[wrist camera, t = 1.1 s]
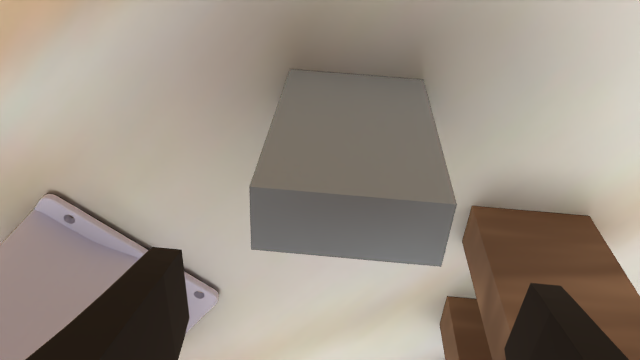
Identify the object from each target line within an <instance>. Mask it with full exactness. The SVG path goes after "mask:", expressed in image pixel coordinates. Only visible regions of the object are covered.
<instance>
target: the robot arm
mask: <svg viewBox="0 0 640 360" xmlns="http://www.w3.org/2000/svg"><path fill="white" fill-rule="evenodd" d="M69 215H71V216H73V217H74V218H71V217H70V216H69ZM198 291H200V292H202V293H200V292H198ZM218 299H219V294H218V292H217V291H216V290H215V289H213V288H211V287H210V286H208V285H206V284H205V283H203V282H201V281H199V280H198V279H196V278H194V277H193V276H191V275H189V274H188V273H186V272H184V267H183V258H182V250H178V249H168V248H157V247H152V248H151V249H150V250H147V249H146V248H144V247H142V246H140V245H139V244H137V243H135V242H134V241H132V240H130V239H129V238H127V237H125V236H124V235H122V234H120V233H119V232H117V231H115V230H113V229H112V228H110V227H108V226H107V225H105V224H103V223H102V222H100V221H98V220H97V219H95V218H93V217H92V216H90V215H88V214H87V213H85V212H83V211H81V210H80V209H78V208H76V207H75V206H73V205H71V204H70V203H68V202H66V201H65V200H63V199H61V198H60V197H58V196H56V195H53V194H46V195H44V196H43V197H42V198H41V199H40V200H39V201H38V203H37V205H36V206H35V208H34V210H32V212H31V213H30V214H29V215H28V216H27V217H26V218H25V219H24V220H23V221H22V222H21V223H20V224H19V225H18V227H17V228H16V229H15V230H14V231H13V232H12V233H11V234H10V235H9V236H8V237H7V238H6V239H5V240H4V242H3V243H2V244H1V245H0V360H178V358H179V354H180V351H181V347H182V344H183V340H184V337H185V334H186V333H187V332H188V331H189V330H190V329H191V328H192V327H193V326H194V325H195V324H196V323H197V322H198V321H199V320H200V319H201V318H202V317H203V316H204V315H205V314H206V313H207V312H208V311H210V310H211V309H212V308H213V307H214V306H215V305H216V304H217V302H218ZM504 351H505V357H506V360H629V359H628V358H627V357H626V356H625V355H624V354H623V352H622V351H621V350H620V349H619V348H618V347H617V346H616V345H615V344H614V343H613V342H612V341H611V340H610V338H609V337H608V336H607V335H606V334H605V333H604V332H603V331H602V330H601V329H600V328H599V326H598V325H597V324H596V323H595V322H594V321H593V320H592V319H591V318H590V317H589V315H588V314H587V313H586V312H585V311H584V310H583V309H582V308H581V307H580V306H579V304H578V303H577V302H576V301H575V300H574V299H573V298H572V297H571V296H570V295H569V294H568V293H567V292H566V291H565V290H564V289H563V287H562V286H559V285H548V284H538V283H530V285H529V288H528V290H527V293H526V295H525V298H524V300H523V303H522V305H521V308H520V310H519V313H518V315H517V318H516V320H515V323H514V325H513V328H512V330H511V333H510V335H509V338H508V340H507V343H506V345H505V348H504Z"/></svg>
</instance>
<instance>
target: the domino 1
mask: <svg viewBox="0 0 640 360" xmlns="http://www.w3.org/2000/svg"><path fill="white" fill-rule="evenodd" d="M456 205H457V204H456V200H455V196H454V192H453V189H452V185H451V181H450V177H449V174H448V170H447V166H446V162H445V159H444V155H443V151H442V148H441V144H440V140H439V136H438V133H437V129H436V125H435V121H434V118H433V114H432V110H431V106H430V103H429V99H428V95H427V92H426V88H425V84H424V80H421V79H408V78H396V77H383V76H370V75H358V74H345V73H332V72H319V71H307V70H294V69H290V71H289V74H288V77H287V80H286V82H285V85H284V88H283V91H282V94H281V97H280V100H279V103H278V106H277V108H276V111H275V114H274V117H273V120H272V123H271V126H270V129H269V132H268V135H267V137H266V140H265V143H264V146H263V149H262V152H261V155H260V158H259V161H258V163H257V166H256V169H255V172H254V175H253V178H252V181H251V184H250V223H251V249H252V250H263V251H274V252H285V253H296V254H308V255H319V256H330V257H341V258H352V259H363V260H374V261H385V262H396V263H407V264H418V265H429V266H440V267H441V265H442V261H443V257H444V253H445V249H446V245H447V241H448V237H449V233H450V229H451V225H452V221H453V217H454V213H455V209H456Z"/></svg>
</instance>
